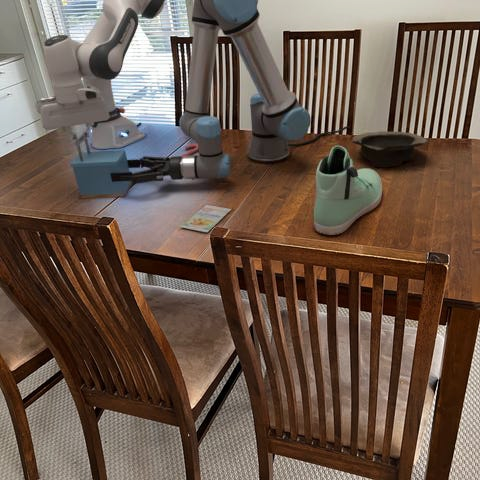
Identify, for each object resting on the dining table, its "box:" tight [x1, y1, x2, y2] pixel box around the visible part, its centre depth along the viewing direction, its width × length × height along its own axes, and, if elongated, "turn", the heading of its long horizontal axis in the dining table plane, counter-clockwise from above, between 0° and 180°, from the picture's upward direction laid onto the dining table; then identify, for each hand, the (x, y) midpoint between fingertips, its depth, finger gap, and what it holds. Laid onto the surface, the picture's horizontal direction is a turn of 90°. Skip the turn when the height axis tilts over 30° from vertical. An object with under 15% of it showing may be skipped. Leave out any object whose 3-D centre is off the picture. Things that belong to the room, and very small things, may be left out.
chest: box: [72, 154, 133, 199], centre depth 159 cm, size 15×10×11 cm
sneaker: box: [313, 145, 383, 236], centre depth 133 cm, size 14×35×20 cm, turn 152°
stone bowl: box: [351, 131, 429, 168], centre depth 166 cm, size 25×25×9 cm
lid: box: [69, 132, 127, 168], centre depth 154 cm, size 15×10×8 cm, turn 87°
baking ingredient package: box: [180, 204, 232, 233], centre depth 139 cm, size 9×1×15 cm
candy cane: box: [180, 143, 199, 158], centre depth 185 cm, size 6×15×2 cm, turn 145°
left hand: (81, 138), depth 152 cm, fingers closed on lid, 2 cm apart
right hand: (116, 170), depth 157 cm, fingers closed on chest, 10 cm apart
